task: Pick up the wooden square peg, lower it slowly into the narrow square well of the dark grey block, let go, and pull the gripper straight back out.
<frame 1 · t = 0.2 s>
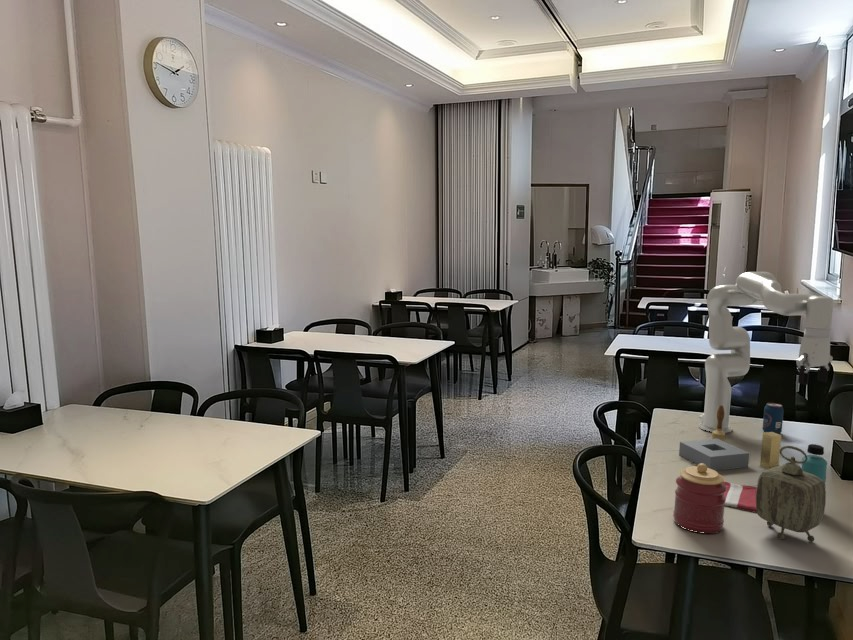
hand: (812, 382, 217), 30 cm above the table, tool pointing down, fingers open, 9 cm apart
hand bell: (717, 446, 244), on the table
well block: (712, 460, 228), on the table
dish towel: (727, 498, 198), on the table
beverage bottle: (809, 511, 187), on the table
canister: (697, 524, 178), on the table
wooden square peg: (769, 467, 222), on the table
soda can: (771, 433, 260), on the table
tabletop clock: (784, 537, 172), on the table
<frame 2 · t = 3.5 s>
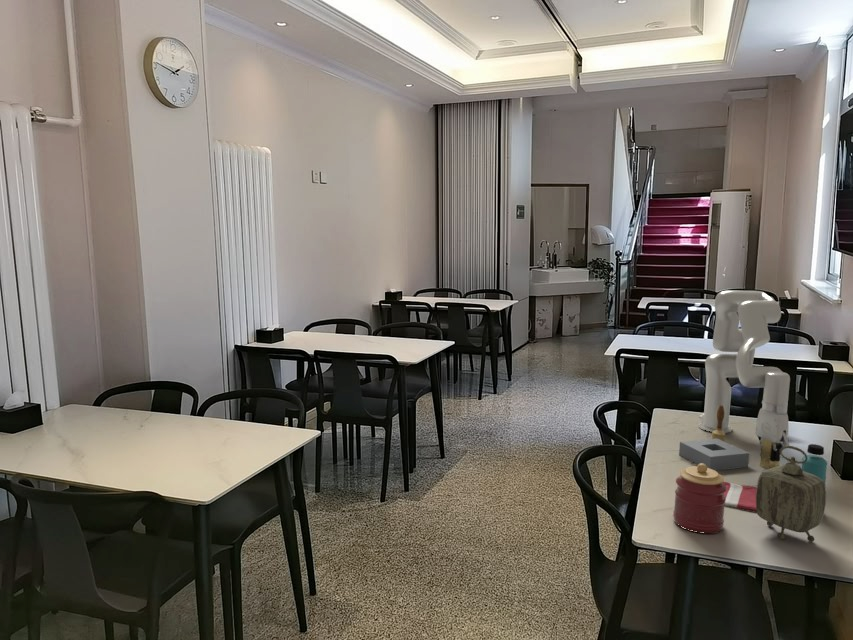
hand: (769, 458, 222), 3 cm above the table, tool pointing down, fingers closed on wooden square peg, 4 cm apart
wooden square peg: (769, 467, 222), on the table, touching gripper
everything else where it was.
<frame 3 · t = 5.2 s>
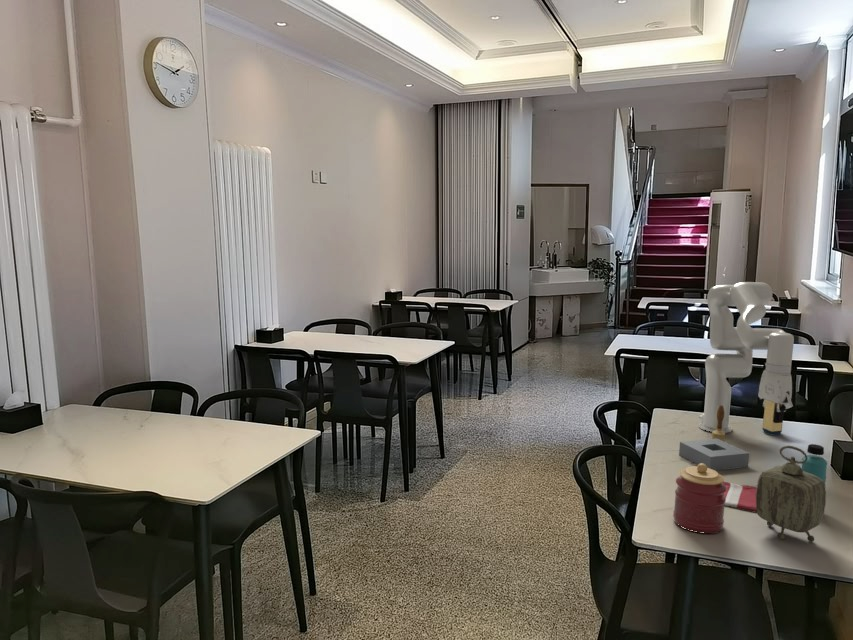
hand: (772, 419, 220), 17 cm above the table, tool pointing down, fingers closed on wooden square peg, 4 cm apart
wooden square peg: (771, 429, 221), point 14 cm above the table, touching gripper
everything else where it was.
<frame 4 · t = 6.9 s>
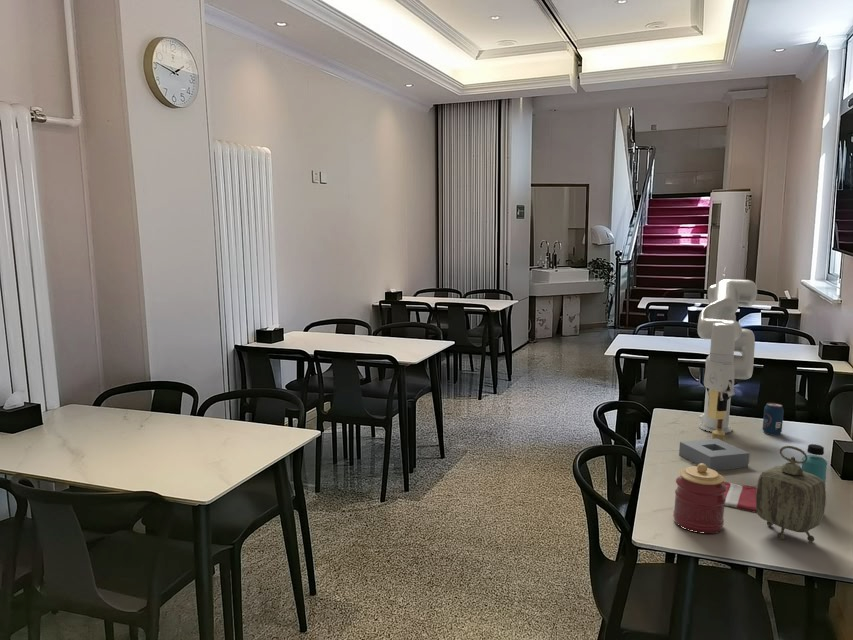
hand: (717, 408, 225), 19 cm above the table, tool pointing down, fingers closed on wooden square peg, 4 cm apart
wooden square peg: (716, 417, 225), point 16 cm above the table, touching gripper
everything else where it was.
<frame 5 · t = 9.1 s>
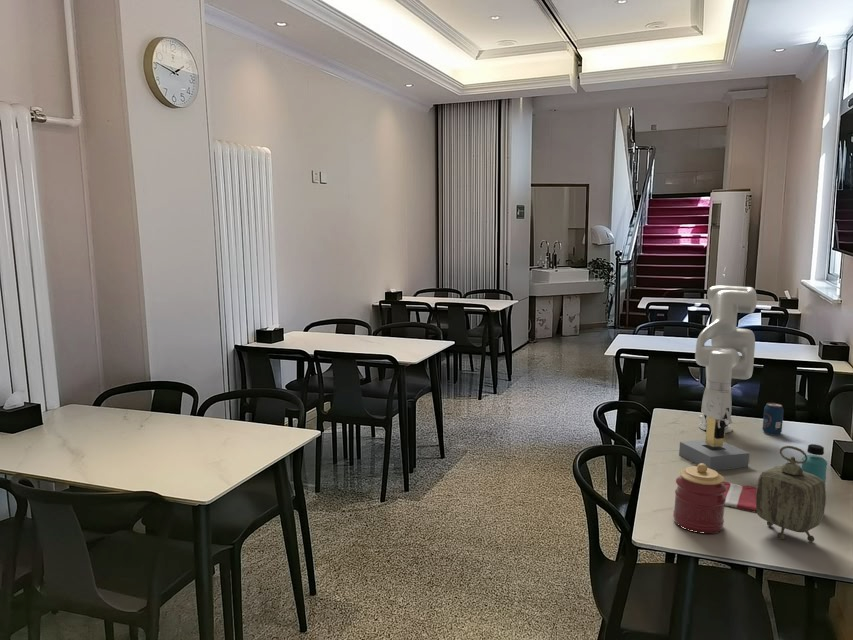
hand: (714, 435, 226), 9 cm above the table, tool pointing down, fingers closed on wooden square peg, 4 cm apart
wooden square peg: (713, 444, 227), point 6 cm above the table, touching gripper
everything else where it was.
when the fingers open (6 cm above the table, at t = 10.7 s): wooden square peg drops 3 cm, resting in well block.
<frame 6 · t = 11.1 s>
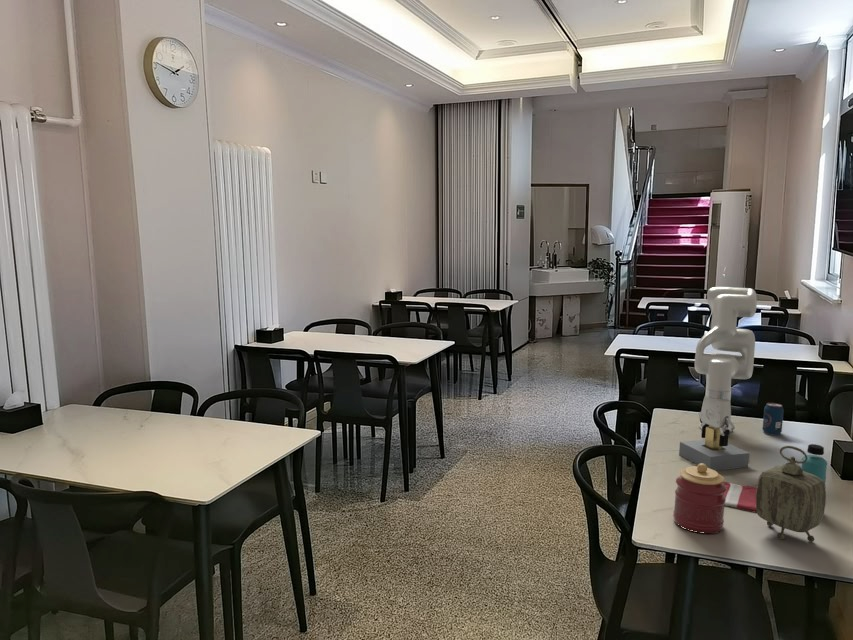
hand: (714, 441, 227), 7 cm above the table, tool pointing down, fingers open, 8 cm apart
wooden square peg: (712, 460, 228), resting in well block
everything else where it was.
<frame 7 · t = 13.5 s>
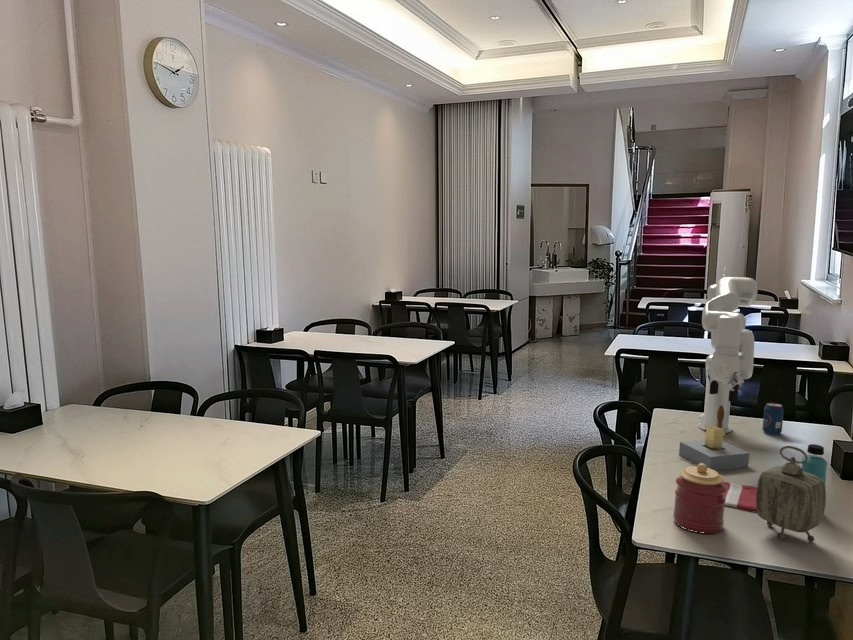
hand: (723, 397, 227), 23 cm above the table, tool pointing down, fingers open, 9 cm apart
nothing on the table moved.
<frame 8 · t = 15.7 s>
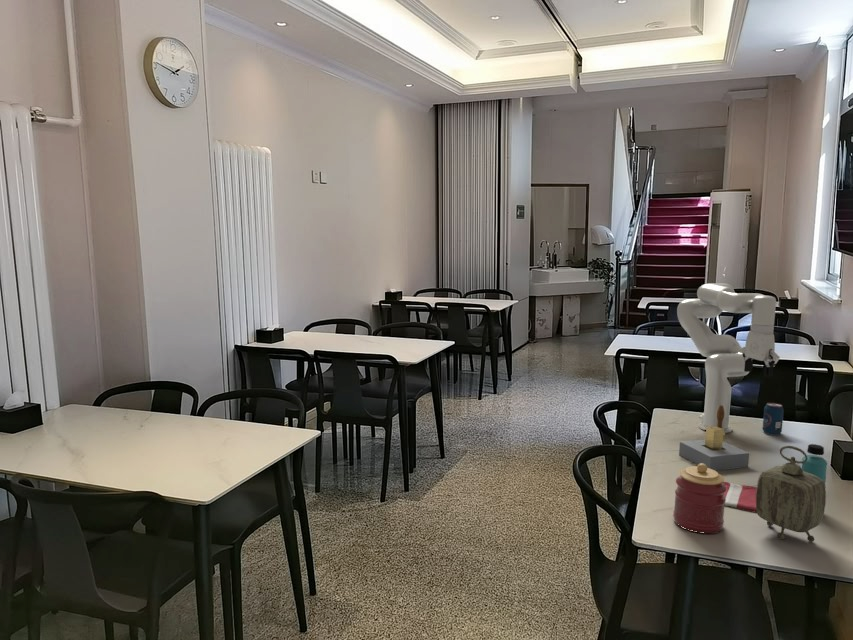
hand: (757, 374, 239), 28 cm above the table, tool pointing down, fingers open, 9 cm apart
nothing on the table moved.
at the end: wooden square peg 0.2 cm off-centre on the well block, point 0.0 cm above the well block's base; wooden square peg tilted 0°; the gripper is holding nothing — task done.
